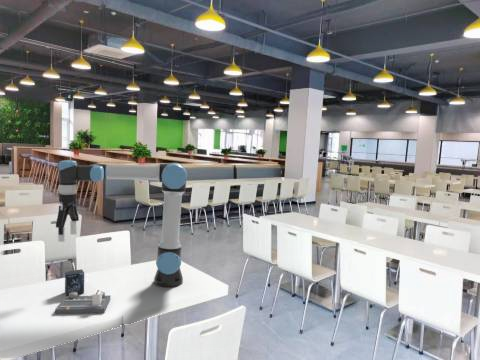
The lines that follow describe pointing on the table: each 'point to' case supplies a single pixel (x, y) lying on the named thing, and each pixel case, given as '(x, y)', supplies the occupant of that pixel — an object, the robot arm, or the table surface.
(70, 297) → the console
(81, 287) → the box
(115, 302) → the table surface
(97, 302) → the block
